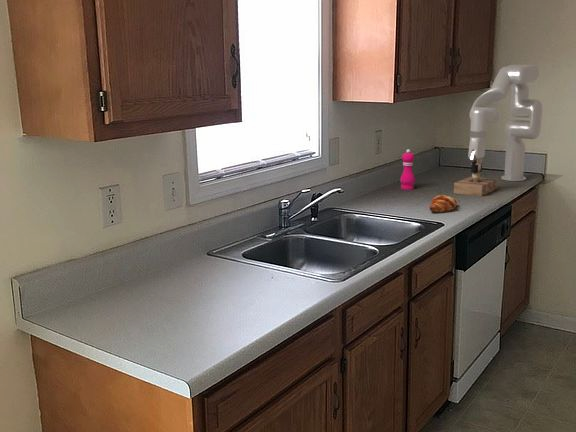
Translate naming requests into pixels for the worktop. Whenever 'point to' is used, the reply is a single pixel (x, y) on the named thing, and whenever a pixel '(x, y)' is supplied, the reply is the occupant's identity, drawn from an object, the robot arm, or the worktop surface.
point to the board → (475, 186)
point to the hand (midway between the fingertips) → (476, 171)
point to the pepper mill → (407, 171)
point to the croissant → (443, 204)
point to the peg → (477, 175)
